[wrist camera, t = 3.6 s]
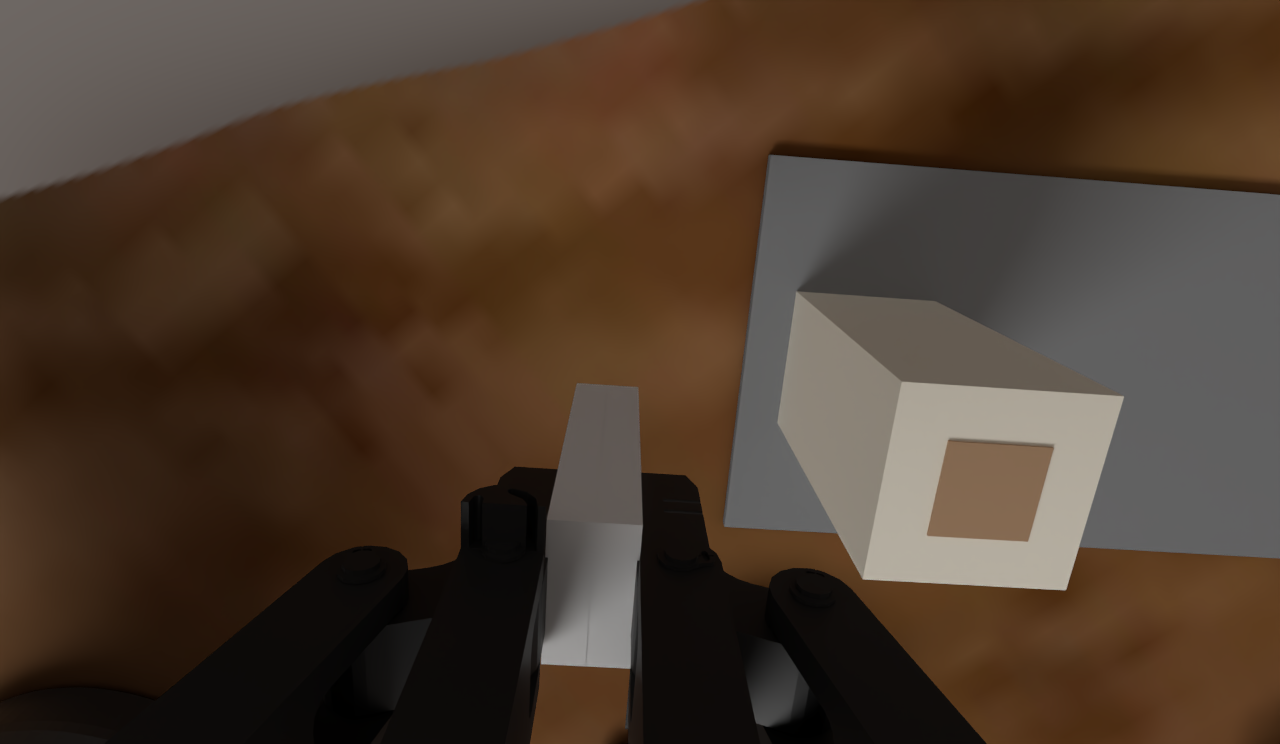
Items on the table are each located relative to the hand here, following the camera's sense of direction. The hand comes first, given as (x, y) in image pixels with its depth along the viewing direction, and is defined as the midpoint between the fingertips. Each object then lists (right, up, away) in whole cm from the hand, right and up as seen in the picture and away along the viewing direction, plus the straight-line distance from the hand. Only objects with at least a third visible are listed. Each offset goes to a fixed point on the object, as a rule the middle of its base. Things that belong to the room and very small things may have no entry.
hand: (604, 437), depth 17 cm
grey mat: (+17, +1, +9) cm, 19 cm away
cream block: (+9, +2, +8) cm, 12 cm away
